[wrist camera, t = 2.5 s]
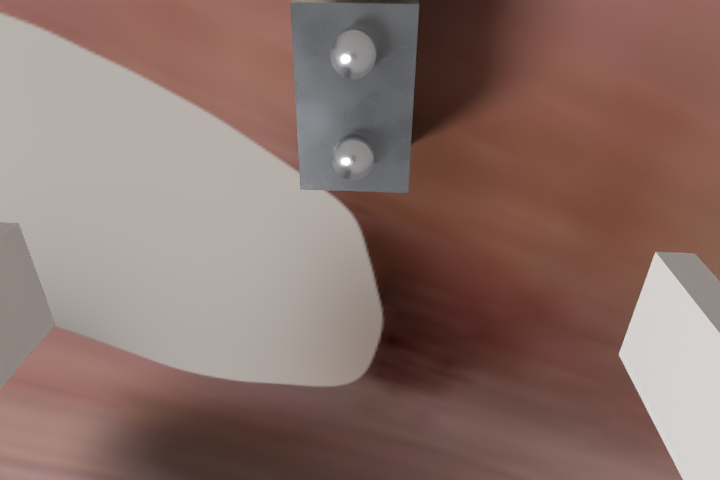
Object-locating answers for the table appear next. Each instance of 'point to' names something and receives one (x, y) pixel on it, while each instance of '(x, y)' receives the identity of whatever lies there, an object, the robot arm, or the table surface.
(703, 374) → the robot arm
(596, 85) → the table surface
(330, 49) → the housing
